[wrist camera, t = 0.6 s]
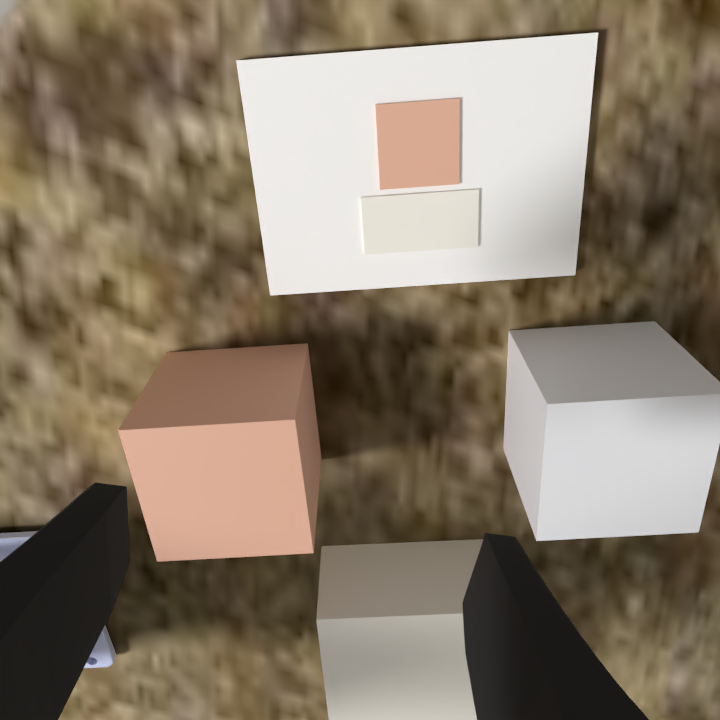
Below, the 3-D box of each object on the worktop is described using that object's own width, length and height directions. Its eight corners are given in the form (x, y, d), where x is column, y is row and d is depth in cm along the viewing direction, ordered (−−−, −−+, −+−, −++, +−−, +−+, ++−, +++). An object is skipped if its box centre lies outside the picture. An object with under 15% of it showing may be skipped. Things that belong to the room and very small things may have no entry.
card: (271, 292, 21) (270, 296, 20) (238, 60, 17) (235, 60, 17) (572, 272, 20) (576, 276, 20) (594, 32, 17) (599, 32, 17)
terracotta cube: (194, 466, 24) (157, 561, 20) (166, 351, 22) (118, 430, 17) (321, 458, 24) (313, 553, 20) (307, 342, 22) (295, 419, 17)
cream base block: (335, 666, 30) (332, 751, 26) (321, 541, 26) (316, 619, 23) (502, 659, 30) (521, 743, 26) (511, 532, 26) (535, 610, 22)
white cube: (503, 447, 24) (536, 541, 19) (508, 329, 21) (547, 404, 17) (634, 440, 24) (698, 532, 19) (653, 320, 21) (732, 393, 17)
